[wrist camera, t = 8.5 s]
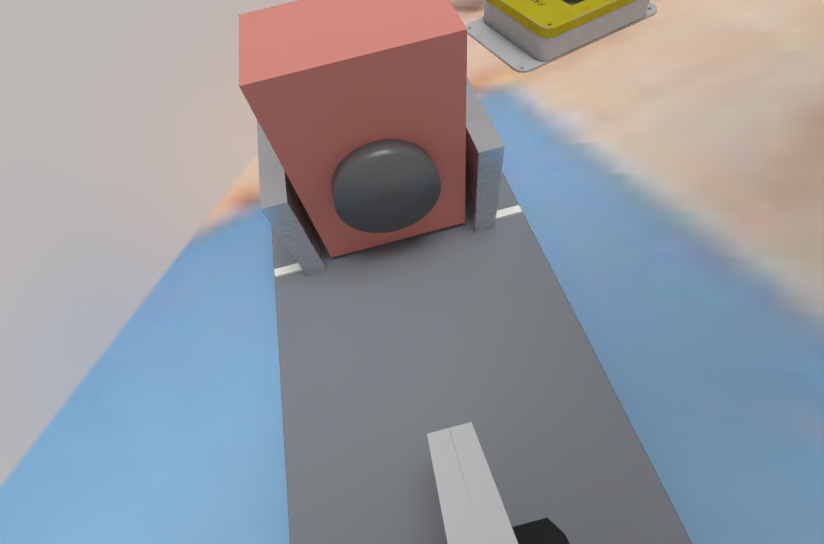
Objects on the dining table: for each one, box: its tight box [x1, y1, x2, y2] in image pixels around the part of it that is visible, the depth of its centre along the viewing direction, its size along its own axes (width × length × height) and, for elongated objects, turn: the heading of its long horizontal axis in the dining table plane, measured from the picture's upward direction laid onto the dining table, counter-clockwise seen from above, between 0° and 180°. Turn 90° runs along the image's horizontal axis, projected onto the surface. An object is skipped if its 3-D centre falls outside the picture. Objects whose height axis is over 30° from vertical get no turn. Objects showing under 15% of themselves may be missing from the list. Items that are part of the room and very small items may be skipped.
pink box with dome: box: [239, 0, 467, 258], centre depth 19 cm, size 8×6×11 cm
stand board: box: [271, 171, 692, 544], centre depth 21 cm, size 15×26×2 cm, turn 14°
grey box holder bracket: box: [257, 78, 504, 276], centre depth 22 cm, size 11×9×6 cm
